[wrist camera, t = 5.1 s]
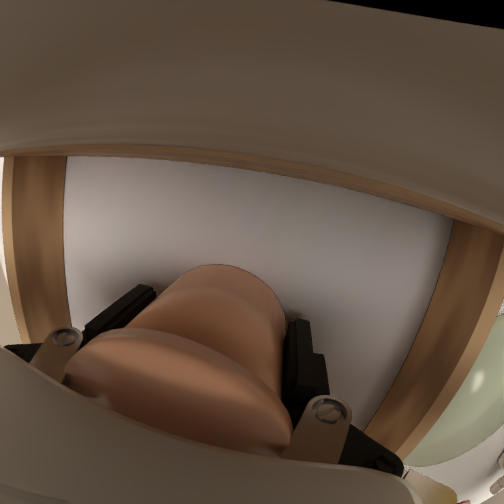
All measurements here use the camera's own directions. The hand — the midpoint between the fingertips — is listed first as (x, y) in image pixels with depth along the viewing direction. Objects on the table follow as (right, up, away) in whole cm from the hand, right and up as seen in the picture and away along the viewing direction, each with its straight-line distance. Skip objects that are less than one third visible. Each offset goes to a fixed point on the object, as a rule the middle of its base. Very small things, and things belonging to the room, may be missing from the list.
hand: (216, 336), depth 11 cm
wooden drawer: (0, 0, +1) cm, 1 cm away
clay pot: (0, 0, +1) cm, 1 cm away
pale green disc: (+16, -6, 0) cm, 17 cm away
